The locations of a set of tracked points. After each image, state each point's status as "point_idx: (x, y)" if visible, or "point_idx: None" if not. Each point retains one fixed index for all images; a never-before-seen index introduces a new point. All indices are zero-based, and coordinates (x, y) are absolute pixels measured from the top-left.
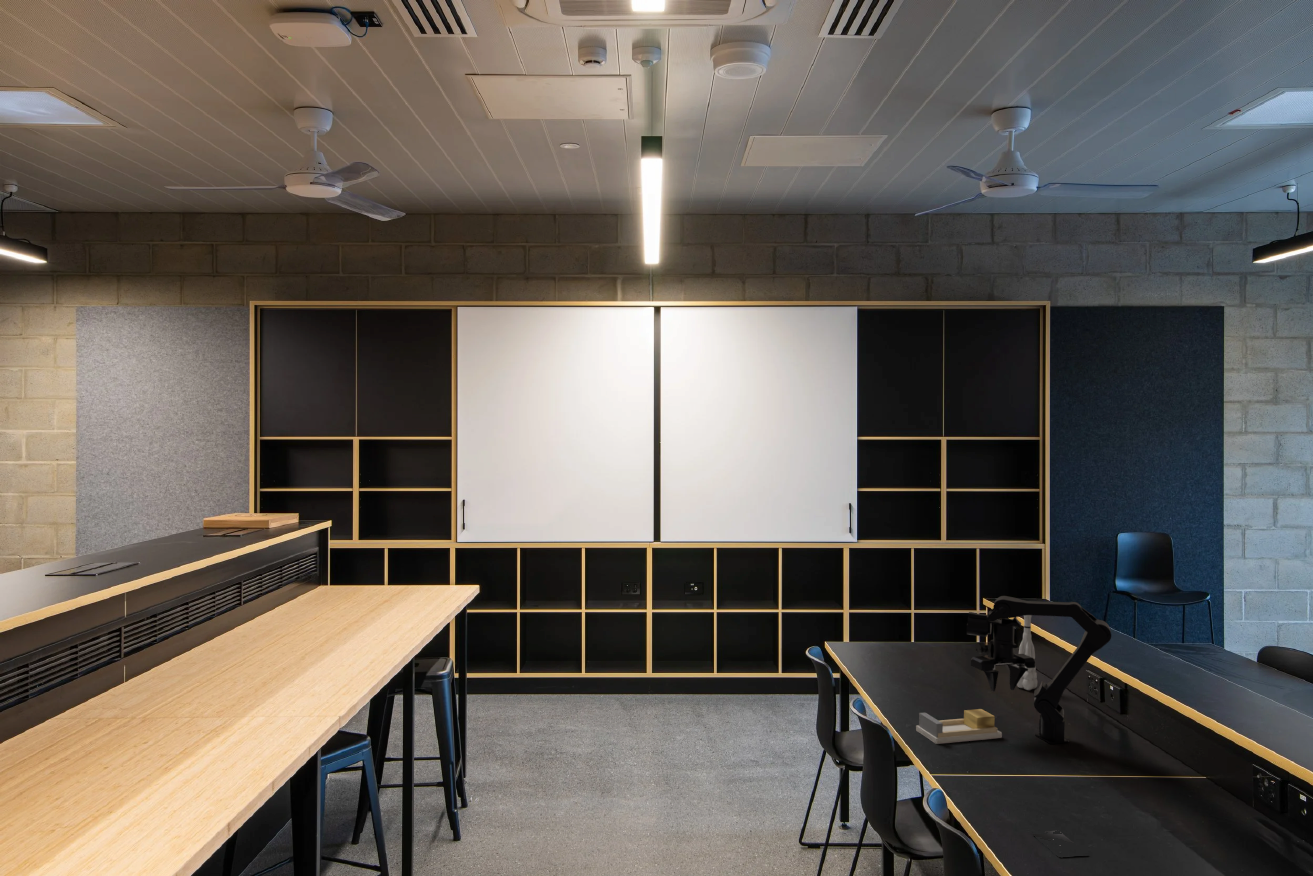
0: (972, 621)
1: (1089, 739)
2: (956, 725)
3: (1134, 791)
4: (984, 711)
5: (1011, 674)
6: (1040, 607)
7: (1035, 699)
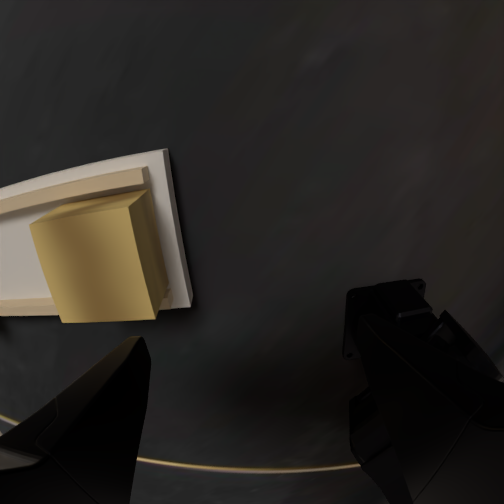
0: None
1: (478, 316)
2: (32, 217)
3: (316, 493)
4: (128, 249)
5: (438, 428)
6: None
7: (361, 458)
